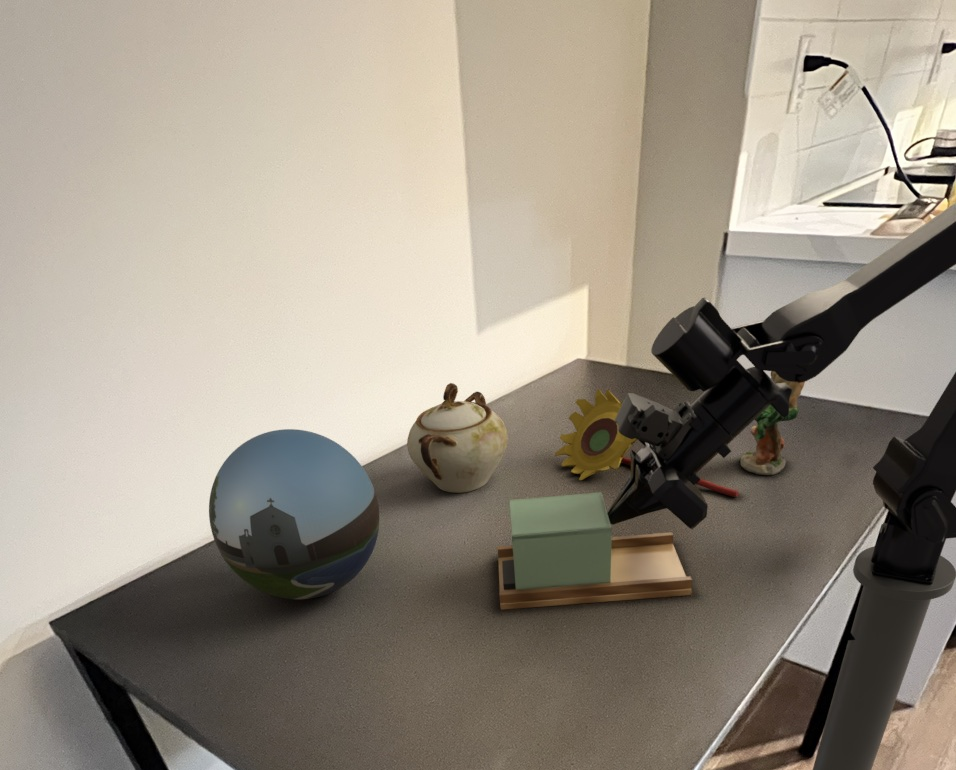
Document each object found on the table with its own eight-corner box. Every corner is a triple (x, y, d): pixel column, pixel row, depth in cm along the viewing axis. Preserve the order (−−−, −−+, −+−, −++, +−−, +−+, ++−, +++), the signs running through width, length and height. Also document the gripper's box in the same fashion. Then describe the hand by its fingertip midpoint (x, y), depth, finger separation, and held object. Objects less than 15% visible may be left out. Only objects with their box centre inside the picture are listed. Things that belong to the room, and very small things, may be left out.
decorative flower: (702, 523, 98) (535, 465, 116) (730, 523, 104) (568, 467, 122) (737, 419, 93) (557, 374, 111) (765, 425, 99) (590, 381, 117)
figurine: (749, 452, 113) (764, 349, 103) (800, 461, 109) (821, 355, 100) (726, 476, 108) (740, 370, 98) (779, 486, 104) (798, 376, 94)
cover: (600, 550, 93) (601, 491, 88) (610, 588, 86) (611, 528, 81) (513, 557, 94) (509, 499, 89) (516, 596, 87) (511, 536, 82)
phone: (578, 559, 92) (578, 554, 92) (583, 583, 88) (583, 577, 87) (502, 565, 93) (502, 560, 92) (503, 589, 89) (503, 584, 88)
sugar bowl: (478, 516, 105) (467, 411, 96) (388, 504, 111) (369, 403, 102) (530, 459, 119) (525, 362, 109) (447, 451, 124) (436, 358, 115)
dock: (670, 545, 94) (672, 531, 93) (691, 595, 85) (692, 580, 84) (498, 559, 96) (497, 545, 94) (500, 609, 87) (499, 595, 86)
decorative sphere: (353, 640, 85) (312, 476, 72) (208, 624, 90) (146, 469, 78) (414, 553, 99) (388, 403, 86) (285, 543, 104) (243, 401, 92)
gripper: (648, 341, 82) (551, 445, 90) (685, 399, 68) (565, 518, 75) (713, 405, 87) (615, 500, 94) (760, 473, 72) (640, 578, 80)
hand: (608, 521), depth 86 cm, fingers closed, pressing on cover
